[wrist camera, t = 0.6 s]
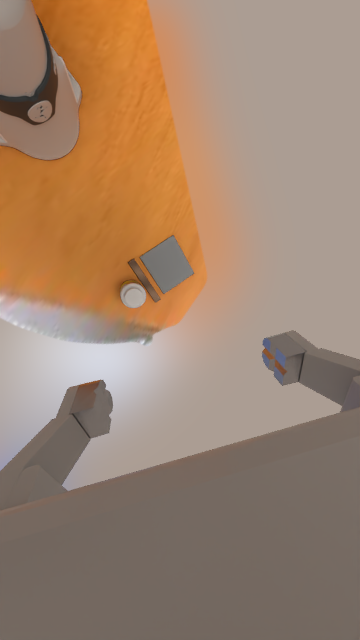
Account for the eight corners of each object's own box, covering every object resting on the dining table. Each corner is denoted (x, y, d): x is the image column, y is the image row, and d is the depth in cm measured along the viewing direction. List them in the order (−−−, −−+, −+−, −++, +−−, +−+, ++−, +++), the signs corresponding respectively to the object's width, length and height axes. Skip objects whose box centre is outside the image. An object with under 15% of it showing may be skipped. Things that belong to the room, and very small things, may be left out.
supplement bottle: (146, 288, 52) (153, 295, 43) (133, 305, 52) (137, 315, 43) (128, 274, 50) (131, 279, 40) (115, 292, 50) (115, 301, 41)
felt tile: (139, 257, 49) (139, 257, 49) (172, 235, 50) (173, 235, 50) (163, 293, 54) (163, 294, 53) (193, 273, 55) (194, 273, 54)
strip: (127, 262, 49) (128, 262, 48) (133, 258, 49) (133, 258, 48) (154, 301, 54) (155, 302, 53) (159, 298, 54) (160, 299, 53)
